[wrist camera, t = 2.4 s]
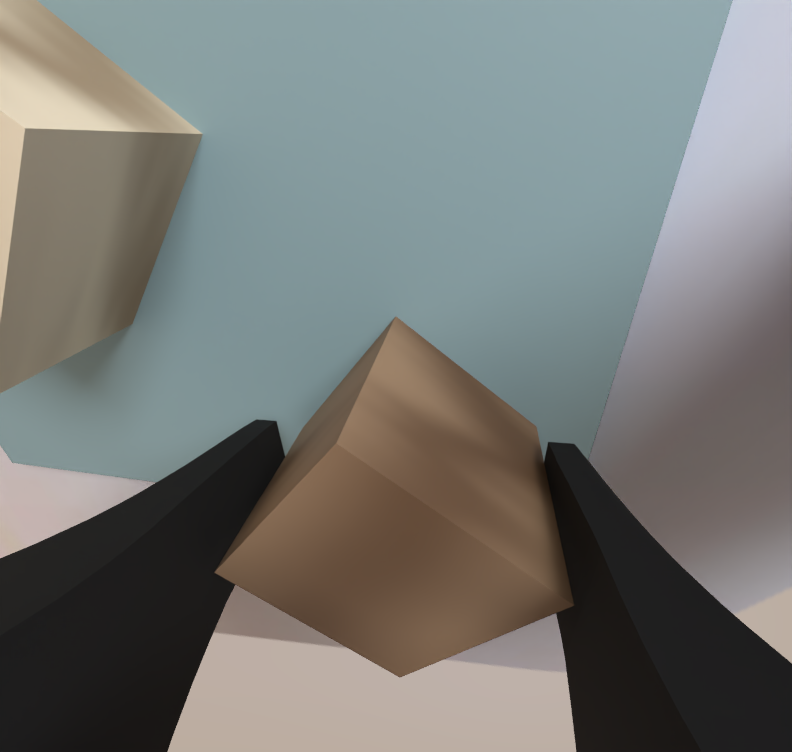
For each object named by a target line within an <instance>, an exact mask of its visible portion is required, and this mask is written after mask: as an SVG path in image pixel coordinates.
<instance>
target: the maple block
mask: <svg viewBox="0 0 792 752" xmlns="http://www.w3.org/2000/svg"><path fill="white" fill-rule="evenodd" d="M202 135H203V134H202V133H201V132H200V131H198V130H197V129H196V128H195V127H193V126H192V125H191V124H190V123H188V122H187V121H186V120H185V119H183V118H182V117H181V116H180V115H179V114H177V113H176V112H175V111H174V110H172V109H171V108H170V107H169V106H167V105H166V104H165V103H164V102H162V101H161V100H160V99H159V98H157V97H156V96H155V95H154V94H152V93H151V92H150V91H149V90H147V89H146V88H145V87H144V86H143V85H141V84H140V83H139V82H138V81H136V80H135V79H134V78H133V77H131V76H130V75H129V74H128V73H126V72H125V71H124V70H123V69H121V68H120V67H119V66H118V65H116V64H115V63H114V62H113V61H111V60H110V59H109V58H108V57H107V56H105V55H104V54H103V53H102V52H100V51H99V50H98V49H97V48H95V47H94V46H93V45H92V44H90V43H89V42H88V41H87V40H85V39H84V38H83V37H82V36H80V35H79V34H78V33H77V32H75V31H74V30H73V29H72V28H70V27H69V26H68V25H67V24H66V23H64V22H63V21H62V20H61V19H59V18H58V17H57V16H56V15H54V14H53V13H52V12H51V11H49V10H48V9H47V8H46V7H44V6H43V5H42V4H41V3H39V2H38V1H37V0H0V393H2V392H4V391H6V390H8V389H10V388H12V387H13V386H15V385H17V384H19V383H21V382H23V381H25V380H27V379H29V378H31V377H33V376H34V375H36V374H38V373H40V372H42V371H44V370H46V369H48V368H50V367H52V366H53V365H55V364H57V363H59V362H61V361H63V360H65V359H67V358H69V357H71V356H73V355H74V354H76V353H78V352H80V351H82V350H84V349H86V348H88V347H90V346H92V345H93V344H95V343H97V342H99V341H101V340H103V339H105V338H107V337H109V336H111V335H112V334H114V333H116V332H118V331H120V330H122V329H124V328H126V327H128V326H130V325H132V324H133V321H134V319H135V316H136V313H137V311H138V308H139V305H140V302H141V300H142V297H143V294H144V292H145V289H146V286H147V283H148V281H149V278H150V275H151V273H152V270H153V267H154V265H155V262H156V259H157V256H158V254H159V251H160V248H161V246H162V243H163V240H164V238H165V235H166V232H167V229H168V227H169V224H170V221H171V219H172V216H173V213H174V211H175V208H176V205H177V202H178V200H179V197H180V194H181V192H182V189H183V186H184V183H185V181H186V178H187V175H188V173H189V170H190V167H191V165H192V162H193V159H194V156H195V154H196V151H197V148H198V146H199V143H200V140H201V138H202Z"/></svg>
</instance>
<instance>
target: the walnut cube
mask: <svg viewBox="0 0 792 752" xmlns="http://www.w3.org/2000/svg"><path fill="white" fill-rule="evenodd" d="M214 573H216V574H218V575H220V576H221V577H223V578H225V579H227V580H228V581H230V582H232V583H234V584H235V585H237V586H239V587H241V588H243V589H244V590H246V591H248V592H250V593H251V594H253V595H255V596H257V597H258V598H260V599H262V600H264V601H266V602H267V603H269V604H271V605H273V606H274V607H276V608H278V609H280V610H281V611H283V612H285V613H287V614H289V615H290V616H292V617H294V618H296V619H297V620H299V621H301V622H303V623H304V624H306V625H308V626H310V627H312V628H313V629H315V630H317V631H319V632H320V633H322V634H324V635H326V636H328V637H329V638H331V639H333V640H335V641H336V642H338V643H340V644H342V645H343V646H345V647H347V648H349V649H351V650H353V651H354V652H356V653H358V654H359V655H361V656H363V657H365V658H366V659H368V660H370V661H372V662H374V663H375V664H377V665H379V666H381V667H382V668H384V669H386V670H388V671H390V672H391V673H393V674H395V675H397V676H398V677H402V676H405V675H407V674H409V673H412V672H414V671H417V670H419V669H421V668H424V667H426V666H429V665H431V664H434V663H436V662H439V661H441V660H443V659H446V658H448V657H451V656H453V655H455V654H458V653H460V652H463V651H465V650H468V649H470V648H472V647H475V646H477V645H480V644H482V643H484V642H487V641H489V640H492V639H494V638H497V637H499V636H501V635H504V634H506V633H509V632H511V631H513V630H516V629H518V628H521V627H523V626H526V625H528V624H530V623H533V622H535V621H538V620H540V619H543V618H545V617H547V616H550V615H552V614H555V613H557V612H559V611H562V610H564V609H567V608H569V607H572V606H574V602H573V598H572V593H571V588H570V583H569V579H568V574H567V569H566V564H565V560H564V555H563V550H562V545H561V541H560V536H559V531H558V526H557V522H556V517H555V512H554V507H553V502H552V498H551V493H550V488H549V483H548V479H547V474H546V469H545V464H544V460H543V455H542V450H541V445H540V441H539V436H538V431H537V426H535V425H534V424H533V423H531V422H530V421H529V420H528V419H526V418H525V417H524V416H523V415H521V414H520V413H519V412H517V411H516V410H515V409H514V408H512V407H511V406H510V405H508V404H507V403H506V402H505V401H503V400H502V399H501V398H500V397H498V396H497V395H496V394H494V393H493V392H492V391H491V390H489V389H488V388H487V387H486V386H484V385H483V384H482V383H480V382H479V381H478V380H477V379H475V378H474V377H473V376H471V375H470V374H469V373H468V372H466V371H465V370H464V369H463V368H461V367H460V366H459V365H457V364H456V363H455V362H454V361H452V360H451V359H450V358H449V357H447V356H446V355H445V354H443V353H442V352H441V351H440V350H438V349H437V348H436V347H435V346H433V345H432V344H431V343H429V342H428V341H427V340H426V339H424V338H423V337H422V336H420V335H419V334H418V333H417V332H415V331H414V330H413V329H412V328H410V327H409V326H408V325H406V324H405V323H404V322H403V321H401V320H400V319H399V318H398V317H395V318H394V319H393V320H392V321H391V323H390V324H389V325H388V326H387V327H386V329H385V330H384V331H383V332H382V333H381V335H380V336H379V337H378V338H377V339H376V341H375V342H374V343H373V344H372V345H371V347H370V348H369V349H368V350H367V351H366V352H365V354H364V355H363V356H362V357H361V358H360V360H359V361H358V362H357V363H356V364H355V366H354V367H353V368H352V369H351V370H350V372H349V373H348V374H347V375H346V376H345V378H344V379H343V380H342V381H341V382H340V384H339V385H338V386H337V387H336V388H335V390H334V391H333V392H332V393H331V394H330V396H329V397H328V398H327V399H326V400H325V402H324V403H323V404H322V405H321V406H320V408H319V409H318V410H317V411H316V412H315V414H314V415H313V416H312V417H311V418H310V420H309V421H308V422H307V423H306V424H305V426H304V427H303V428H302V430H301V432H300V433H299V435H298V436H297V438H296V440H295V441H294V443H293V445H292V446H291V448H290V450H289V451H288V453H287V454H286V456H285V458H284V460H283V462H282V463H281V465H280V466H279V468H278V470H277V471H276V473H275V475H274V476H273V478H272V480H271V481H270V483H269V484H268V486H267V488H266V489H265V491H264V492H263V494H262V495H261V497H260V499H259V500H258V502H257V504H256V505H255V507H254V508H253V510H252V512H251V513H250V515H249V517H248V518H247V520H246V522H245V523H244V525H243V526H242V528H241V530H240V531H239V533H238V535H237V536H236V538H235V539H234V541H233V543H232V544H231V546H230V548H229V549H228V551H227V553H226V554H225V556H224V557H223V559H222V561H221V562H220V564H219V566H218V567H217V569H216V571H215V572H214Z"/></svg>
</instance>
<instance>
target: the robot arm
mask: <svg viewBox="0 0 792 752" xmlns="http://www.w3.org/2000/svg"><path fill="white" fill-rule="evenodd" d="M284 458H285V454H284V450H283V446H282V441H281V437H280V433H279V429H278V425H277V421H271V420H258V419H256V420H254V421H253V422H251V423H249V424H248V425H246V426H244V427H243V428H241V429H240V430H238V431H236V432H235V433H233V434H232V435H230V436H229V437H227V438H226V439H224V440H223V441H221V442H220V443H218V444H217V445H215V446H214V447H212V448H211V449H209V450H208V451H206V452H205V453H203V454H202V455H200V456H198V457H197V458H195V459H194V460H192V461H191V462H189V463H188V464H186V465H185V466H183V467H181V468H180V469H178V470H176V471H175V472H173V473H171V474H170V475H168V476H167V477H165V478H163V479H162V480H160V481H158V482H157V483H155V484H153V485H152V486H150V487H148V488H147V489H145V490H143V491H142V492H140V493H138V494H136V495H134V496H133V497H131V498H129V499H127V500H125V501H124V502H122V503H120V504H118V505H116V506H114V507H112V508H110V509H108V510H106V511H104V512H102V513H101V514H99V515H97V516H95V517H93V518H91V519H89V520H87V521H84V522H82V523H80V524H78V525H76V526H73V527H71V528H69V529H67V530H65V531H63V532H60V533H58V534H56V535H54V536H52V537H50V538H47V539H45V540H43V541H41V542H39V543H36V544H34V545H32V546H29V547H27V548H25V549H22V550H20V551H17V552H15V553H12V554H10V555H8V556H5V557H3V558H0V752H167V751H168V748H169V745H170V742H171V739H172V736H173V734H174V731H175V728H176V725H177V723H178V720H179V718H180V715H181V712H182V710H183V707H184V704H185V702H186V699H187V696H188V693H189V691H190V688H191V686H192V683H193V680H194V678H195V676H196V673H197V671H198V668H199V666H200V663H201V661H202V658H203V656H204V653H205V651H206V649H207V646H208V643H209V641H210V639H211V637H212V634H213V632H214V630H215V627H216V625H217V623H218V620H219V618H220V616H221V614H222V611H223V609H224V607H225V604H226V602H227V600H228V598H229V596H230V594H231V592H232V590H233V588H234V586H235V584H234V583H232V582H230V581H228V580H227V579H225V578H223V577H221V576H220V575H218V574H216V573H214V572H215V571H216V569H217V567H218V566H219V564H220V562H221V561H222V559H223V557H224V556H225V554H226V553H227V551H228V549H229V548H230V546H231V544H232V543H233V541H234V539H235V538H236V536H237V535H238V533H239V531H240V530H241V528H242V526H243V525H244V523H245V522H246V520H247V518H248V517H249V515H250V513H251V512H252V510H253V508H254V507H255V505H256V504H257V502H258V500H259V499H260V497H261V495H262V494H263V492H264V491H265V489H266V488H267V486H268V484H269V483H270V481H271V480H272V478H273V476H274V475H275V473H276V471H277V470H278V468H279V466H280V465H281V463H282V462H283V460H284ZM544 464H545V469H546V474H547V479H548V483H549V488H550V493H551V498H552V502H553V507H554V512H555V517H556V522H557V526H558V531H559V536H560V541H561V545H562V550H563V555H564V560H565V564H566V569H567V574H568V579H569V583H570V588H571V593H572V598H573V602H574V606H572V607H569V608H567V609H564V610H562V611H559V612H557V613H556V614H557V619H558V624H559V628H560V633H561V638H562V643H563V649H564V655H565V661H566V669H567V677H568V685H569V692H570V700H571V708H572V716H573V725H574V734H575V742H576V752H792V664H791V663H790V662H789V661H788V660H787V659H785V658H784V657H783V656H782V655H781V654H780V653H778V652H777V651H776V650H775V649H773V648H772V647H771V646H770V645H769V644H768V643H766V642H765V641H764V640H763V639H762V638H760V637H759V636H758V635H757V634H756V633H754V632H753V631H752V630H751V629H749V628H748V627H747V626H746V625H745V624H744V623H742V622H741V621H740V620H739V619H738V618H737V617H736V616H735V615H733V614H732V613H731V612H730V611H729V610H728V609H727V608H725V607H724V606H723V605H722V604H721V603H720V602H719V601H718V600H717V599H715V598H714V597H713V596H712V595H711V594H710V593H709V592H708V591H707V590H706V589H705V588H704V587H703V586H701V585H700V584H699V583H698V582H697V581H696V580H695V579H694V578H693V577H692V576H691V575H690V574H689V573H688V572H686V571H685V570H684V569H683V568H682V567H681V566H680V565H679V564H678V563H677V562H676V561H675V560H674V559H673V558H672V557H671V556H670V555H669V554H668V553H667V551H666V550H665V549H664V548H663V547H662V546H661V545H660V544H659V543H658V542H657V541H656V540H655V539H654V538H653V537H652V536H651V535H650V534H649V532H648V531H647V530H646V529H645V528H644V527H643V526H642V525H641V524H640V522H639V521H638V520H637V519H636V518H635V517H634V516H633V515H632V513H631V512H630V511H629V510H628V509H627V508H626V506H625V505H624V504H623V503H622V502H621V501H620V499H619V498H618V497H617V496H616V495H615V494H614V492H613V491H612V490H611V489H610V488H609V486H608V485H607V484H606V483H605V481H604V480H603V479H602V478H601V476H600V475H599V474H598V473H597V471H596V470H595V469H594V468H593V466H592V465H591V464H590V462H589V461H588V460H587V459H586V457H585V456H584V455H583V454H582V452H581V451H580V450H579V448H578V447H577V446H576V445H575V444H571V443H558V442H548V445H547V450H546V455H545V460H544Z"/></svg>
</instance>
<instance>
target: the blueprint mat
mask: <svg viewBox="0 0 792 752" xmlns="http://www.w3.org/2000/svg"><path fill="white" fill-rule="evenodd" d="M37 1H38V2H39V3H41V4H42V5H43V6H44V7H46V8H47V9H48V10H49V11H51V12H52V13H53V14H54V15H56V16H57V17H58V18H59V19H61V20H62V21H63V22H64V23H66V24H67V25H68V26H69V27H70V28H72V29H73V30H74V31H75V32H77V33H78V34H79V35H80V36H82V37H83V38H84V39H85V40H87V41H88V42H89V43H90V44H92V45H93V46H94V47H95V48H97V49H98V50H99V51H100V52H102V53H103V54H104V55H105V56H107V57H108V58H109V59H110V60H111V61H113V62H114V63H115V64H116V65H118V66H119V67H120V68H121V69H123V70H124V71H125V72H126V73H128V74H129V75H130V76H131V77H133V78H134V79H135V80H136V81H138V82H139V83H140V84H141V85H143V86H144V87H145V88H146V89H147V90H149V91H150V92H151V93H152V94H154V95H155V96H156V97H157V98H159V99H160V100H161V101H162V102H164V103H165V104H166V105H167V106H169V107H170V108H171V109H172V110H174V111H175V112H176V113H177V114H179V115H180V116H181V117H182V118H183V119H185V120H186V121H187V122H188V123H190V124H191V125H192V126H193V127H195V128H196V129H197V130H198V131H200V132H201V133H202V134H203V135H202V138H201V140H200V143H199V146H198V148H197V151H196V154H195V156H194V159H193V162H192V165H191V167H190V170H189V173H188V175H187V178H186V181H185V183H184V186H183V189H182V192H181V194H180V197H179V200H178V202H177V205H176V208H175V211H174V213H173V216H172V219H171V221H170V224H169V227H168V229H167V232H166V235H165V238H164V240H163V243H162V246H161V248H160V251H159V254H158V256H157V259H156V262H155V265H154V267H153V270H152V273H151V275H150V278H149V281H148V283H147V286H146V289H145V292H144V294H143V297H142V300H141V302H140V305H139V308H138V311H137V313H136V316H135V319H134V321H133V324H132V325H130V326H128V327H126V328H124V329H122V330H120V331H118V332H116V333H114V334H112V335H111V336H109V337H107V338H105V339H103V340H101V341H99V342H97V343H95V344H93V345H92V346H90V347H88V348H86V349H84V350H82V351H80V352H78V353H76V354H74V355H73V356H71V357H69V358H67V359H65V360H63V361H61V362H59V363H57V364H55V365H53V366H52V367H50V368H48V369H46V370H44V371H42V372H40V373H38V374H36V375H34V376H33V377H31V378H29V379H27V380H25V381H23V382H21V383H19V384H17V385H15V386H13V387H12V388H10V389H8V390H6V391H4V392H2V393H0V445H1V447H2V448H3V450H4V451H5V453H6V454H7V456H8V457H9V458H10V460H11V461H12V463H18V464H26V465H33V466H41V467H48V468H55V469H63V470H70V471H78V472H85V473H92V474H100V475H107V476H115V477H122V478H129V479H137V480H144V481H152V482H158V481H160V480H162V479H163V478H165V477H167V476H168V475H170V474H171V473H173V472H175V471H176V470H178V469H180V468H181V467H183V466H185V465H186V464H188V463H189V462H191V461H192V460H194V459H195V458H197V457H198V456H200V455H202V454H203V453H205V452H206V451H208V450H209V449H211V448H212V447H214V446H215V445H217V444H218V443H220V442H221V441H223V440H224V439H226V438H227V437H229V436H230V435H232V434H233V433H235V432H236V431H238V430H240V429H241V428H243V427H244V426H246V425H248V424H249V423H251V422H253V421H254V420H256V419H258V420H271V421H277V425H278V429H279V433H280V437H281V441H282V446H283V450H284V454H285V456H286V454H287V453H288V451H289V450H290V448H291V446H292V445H293V443H294V441H295V440H296V438H297V436H298V435H299V433H300V432H301V430H302V428H303V427H304V426H305V424H306V423H307V422H308V421H309V420H310V418H311V417H312V416H313V415H314V414H315V412H316V411H317V410H318V409H319V408H320V406H321V405H322V404H323V403H324V402H325V400H326V399H327V398H328V397H329V396H330V394H331V393H332V392H333V391H334V390H335V388H336V387H337V386H338V385H339V384H340V382H341V381H342V380H343V379H344V378H345V376H346V375H347V374H348V373H349V372H350V370H351V369H352V368H353V367H354V366H355V364H356V363H357V362H358V361H359V360H360V358H361V357H362V356H363V355H364V354H365V352H366V351H367V350H368V349H369V348H370V347H371V345H372V344H373V343H374V342H375V341H376V339H377V338H378V337H379V336H380V335H381V333H382V332H383V331H384V330H385V329H386V327H387V326H388V325H389V324H390V323H391V321H392V320H393V319H394V318H395V317H398V318H399V319H400V320H401V321H403V322H404V323H405V324H406V325H408V326H409V327H410V328H412V329H413V330H414V331H415V332H417V333H418V334H419V335H420V336H422V337H423V338H424V339H426V340H427V341H428V342H429V343H431V344H432V345H433V346H435V347H436V348H437V349H438V350H440V351H441V352H442V353H443V354H445V355H446V356H447V357H449V358H450V359H451V360H452V361H454V362H455V363H456V364H457V365H459V366H460V367H461V368H463V369H464V370H465V371H466V372H468V373H469V374H470V375H471V376H473V377H474V378H475V379H477V380H478V381H479V382H480V383H482V384H483V385H484V386H486V387H487V388H488V389H489V390H491V391H492V392H493V393H494V394H496V395H497V396H498V397H500V398H501V399H502V400H503V401H505V402H506V403H507V404H508V405H510V406H511V407H512V408H514V409H515V410H516V411H517V412H519V413H520V414H521V415H523V416H524V417H525V418H526V419H528V420H529V421H530V422H531V423H533V424H534V425H535V426H537V431H538V436H539V441H540V445H541V450H542V455H543V460H545V455H546V450H547V445H548V442H558V443H571V444H575V445H576V446H577V447H578V448H579V450H580V451H581V452H582V454H583V455H584V456H585V457H586V459H587V460H588V459H589V455H590V452H591V449H592V446H593V443H594V440H595V436H596V433H597V430H598V427H599V424H600V421H601V417H602V414H603V411H604V408H605V405H606V401H607V398H608V395H609V392H610V389H611V386H612V382H613V379H614V376H615V373H616V370H617V366H618V363H619V360H620V357H621V354H622V351H623V347H624V344H625V341H626V338H627V335H628V331H629V328H630V325H631V322H632V319H633V316H634V312H635V309H636V306H637V303H638V300H639V297H640V293H641V290H642V287H643V284H644V281H645V277H646V274H647V271H648V268H649V265H650V262H651V258H652V255H653V252H654V249H655V246H656V242H657V239H658V236H659V233H660V230H661V227H662V223H663V220H664V217H665V214H666V211H667V207H668V204H669V201H670V198H671V195H672V192H673V188H674V185H675V182H676V179H677V176H678V172H679V169H680V166H681V163H682V160H683V157H684V153H685V150H686V147H687V144H688V141H689V138H690V134H691V131H692V128H693V125H694V122H695V118H696V115H697V112H698V109H699V106H700V103H701V99H702V96H703V93H704V90H705V87H706V83H707V80H708V77H709V74H710V71H711V68H712V64H713V61H714V58H715V55H716V52H717V48H718V45H719V42H720V39H721V36H722V33H723V29H724V26H725V23H726V20H727V17H728V13H729V10H730V7H731V4H732V1H733V0H37Z"/></svg>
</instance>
